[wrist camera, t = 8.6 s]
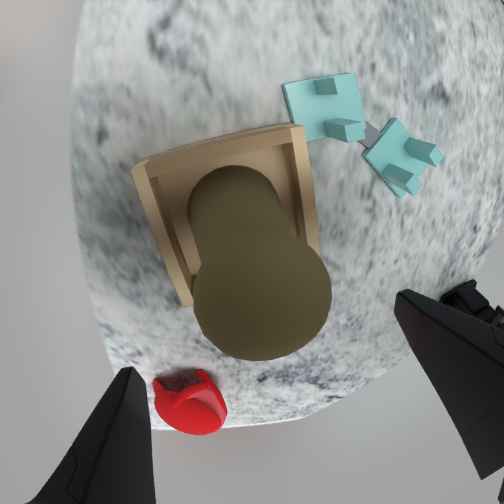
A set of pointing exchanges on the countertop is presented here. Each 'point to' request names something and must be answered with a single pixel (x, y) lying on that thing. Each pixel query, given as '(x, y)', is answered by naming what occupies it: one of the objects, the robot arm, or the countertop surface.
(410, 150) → the clip
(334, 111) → the clip
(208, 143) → the shallow tan tray
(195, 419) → the red toy chair
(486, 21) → the countertop surface
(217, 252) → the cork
